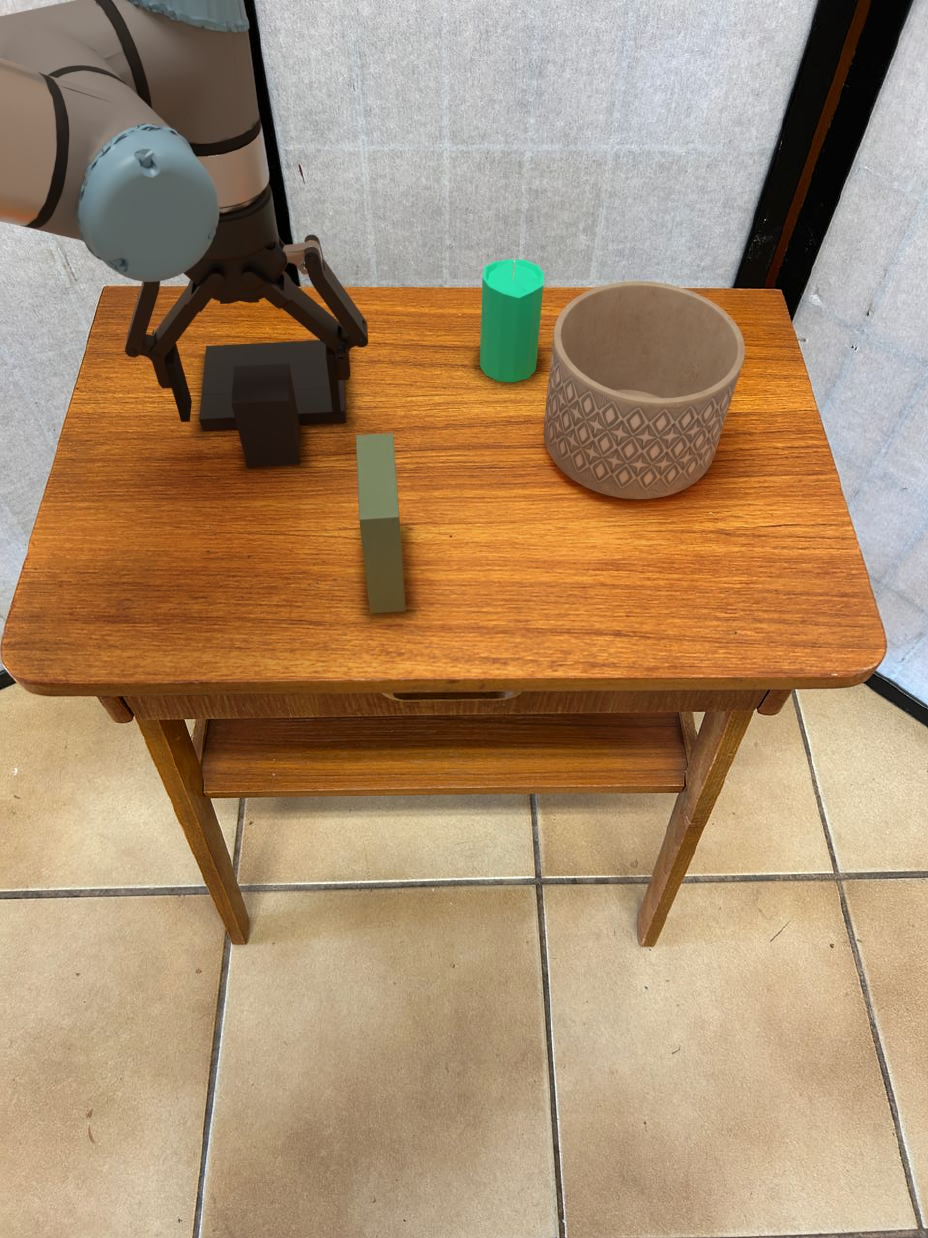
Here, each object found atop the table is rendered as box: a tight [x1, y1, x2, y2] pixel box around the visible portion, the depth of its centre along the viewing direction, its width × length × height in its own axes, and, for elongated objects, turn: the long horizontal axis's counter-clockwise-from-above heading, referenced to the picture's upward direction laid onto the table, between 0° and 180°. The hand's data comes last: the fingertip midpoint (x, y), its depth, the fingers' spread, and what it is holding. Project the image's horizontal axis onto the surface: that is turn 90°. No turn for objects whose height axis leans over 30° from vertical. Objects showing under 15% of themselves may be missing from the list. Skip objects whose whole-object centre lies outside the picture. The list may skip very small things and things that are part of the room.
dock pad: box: [198, 339, 347, 431], centre depth 96 cm, size 14×11×2 cm
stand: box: [355, 432, 407, 615], centre depth 78 cm, size 3×9×12 cm, turn 5°
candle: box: [479, 258, 545, 384], centre depth 94 cm, size 6×6×12 cm
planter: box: [542, 280, 746, 500], centre depth 87 cm, size 16×16×13 cm
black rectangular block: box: [231, 363, 301, 469], centre depth 89 cm, size 5×8×8 cm, turn 5°
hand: (262, 408), depth 87 cm, fingers open, 13 cm apart
